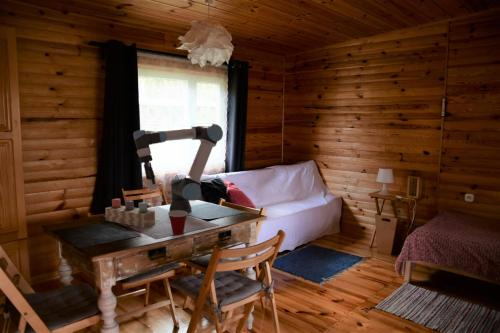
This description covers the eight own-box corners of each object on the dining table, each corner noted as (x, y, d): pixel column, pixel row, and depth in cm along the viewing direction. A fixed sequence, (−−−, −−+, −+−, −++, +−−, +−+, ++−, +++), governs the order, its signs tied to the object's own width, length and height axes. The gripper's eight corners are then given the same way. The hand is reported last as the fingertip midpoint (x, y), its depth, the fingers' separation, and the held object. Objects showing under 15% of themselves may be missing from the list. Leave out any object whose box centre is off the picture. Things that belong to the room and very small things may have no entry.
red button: (110, 207, 237) (110, 199, 236) (117, 205, 241) (116, 198, 240) (116, 208, 234) (115, 200, 233) (122, 206, 238) (121, 199, 238)
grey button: (123, 209, 230) (123, 201, 230) (129, 207, 235) (129, 200, 234) (129, 210, 228) (128, 202, 227) (135, 208, 232) (135, 200, 232)
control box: (106, 220, 236) (105, 208, 235) (118, 217, 245) (118, 205, 244) (143, 227, 220) (142, 214, 219) (155, 223, 228) (154, 210, 227)
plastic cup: (177, 237, 199) (176, 215, 198) (164, 234, 206) (163, 213, 204) (192, 232, 208) (191, 211, 206) (179, 229, 214) (178, 209, 213)
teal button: (137, 211, 224) (136, 203, 224) (143, 210, 229) (143, 202, 228) (143, 212, 222) (142, 204, 221) (149, 210, 226) (149, 202, 226)
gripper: (136, 158, 236) (144, 190, 237) (141, 155, 213) (150, 191, 214) (148, 155, 239) (156, 187, 240) (154, 152, 216) (163, 188, 217)
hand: (153, 189), depth 227 cm, fingers open, 13 cm apart
